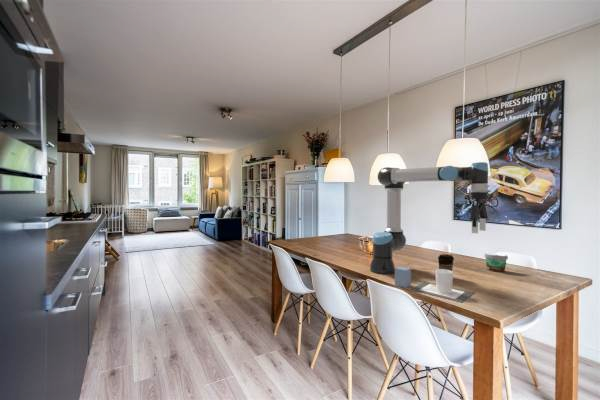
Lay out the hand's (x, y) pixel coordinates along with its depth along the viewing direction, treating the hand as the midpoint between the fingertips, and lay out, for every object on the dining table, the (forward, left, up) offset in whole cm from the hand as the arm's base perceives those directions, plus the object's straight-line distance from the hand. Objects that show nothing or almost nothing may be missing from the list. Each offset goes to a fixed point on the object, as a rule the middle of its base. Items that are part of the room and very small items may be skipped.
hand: (478, 231), depth 154 cm
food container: (+1, +36, -28) cm, 46 cm away
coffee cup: (-16, 0, -28) cm, 33 cm away
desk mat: (-9, -25, -28) cm, 39 cm away
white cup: (-8, -25, -28) cm, 39 cm away
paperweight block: (-27, -30, -28) cm, 49 cm away
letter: (-9, -25, -28) cm, 39 cm away
